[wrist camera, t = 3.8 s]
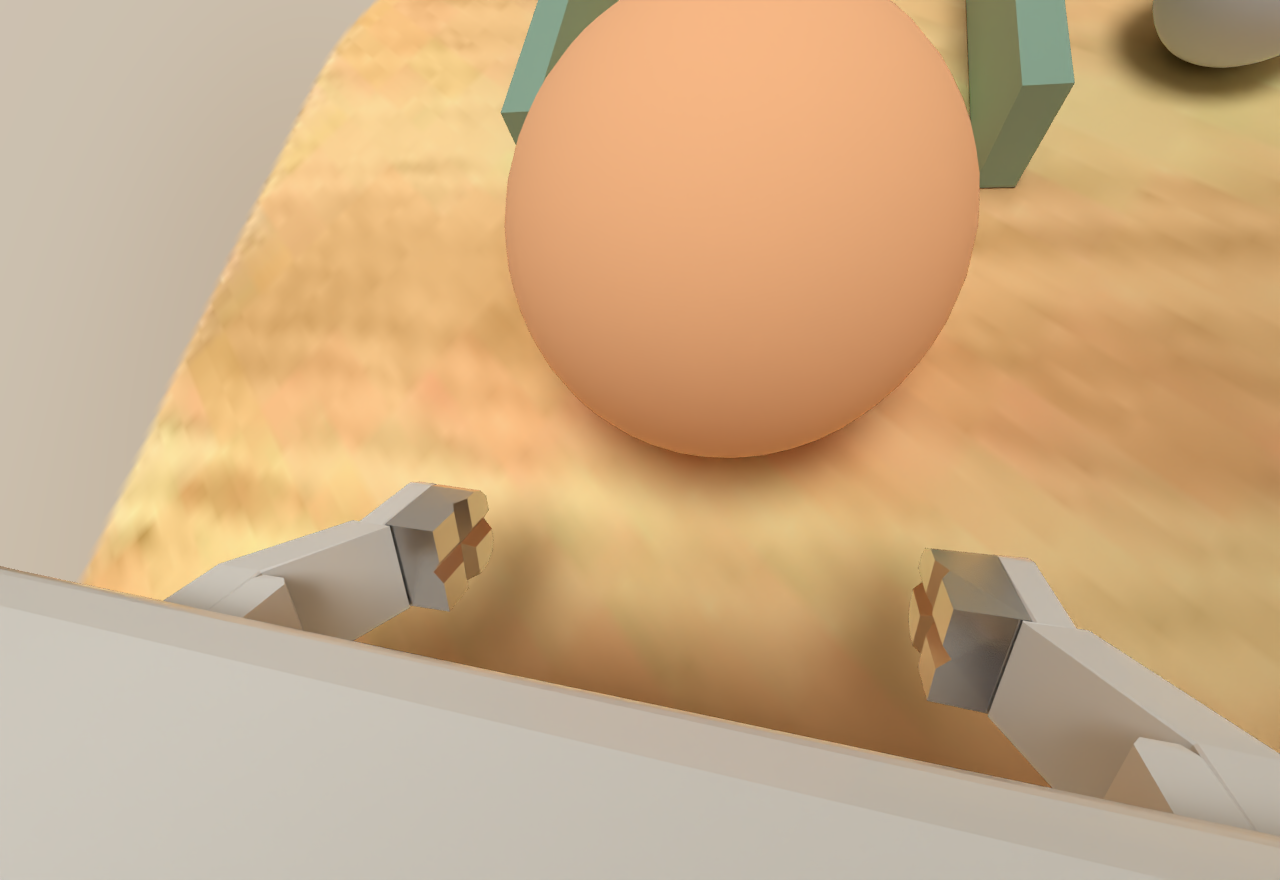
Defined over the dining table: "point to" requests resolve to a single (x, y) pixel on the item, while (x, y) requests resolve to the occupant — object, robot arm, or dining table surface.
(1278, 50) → the grey ball
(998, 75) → the green u-shaped frame
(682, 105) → the ball
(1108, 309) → the dining table surface
